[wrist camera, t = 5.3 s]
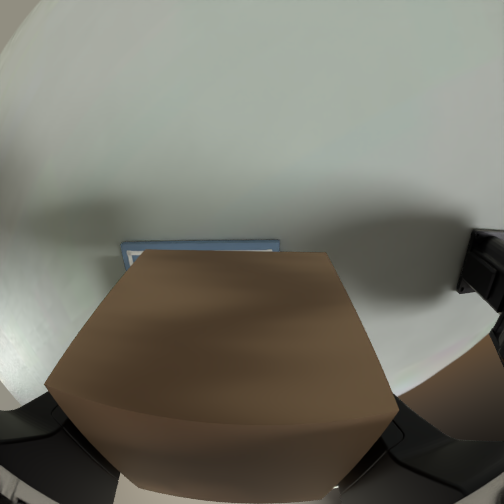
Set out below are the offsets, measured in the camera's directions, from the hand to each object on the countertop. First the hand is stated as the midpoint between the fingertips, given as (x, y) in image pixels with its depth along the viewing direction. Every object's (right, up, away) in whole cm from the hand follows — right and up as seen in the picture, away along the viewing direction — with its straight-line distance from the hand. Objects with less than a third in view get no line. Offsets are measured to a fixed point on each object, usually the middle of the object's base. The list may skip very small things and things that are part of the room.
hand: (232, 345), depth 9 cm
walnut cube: (0, 0, +1) cm, 1 cm away
